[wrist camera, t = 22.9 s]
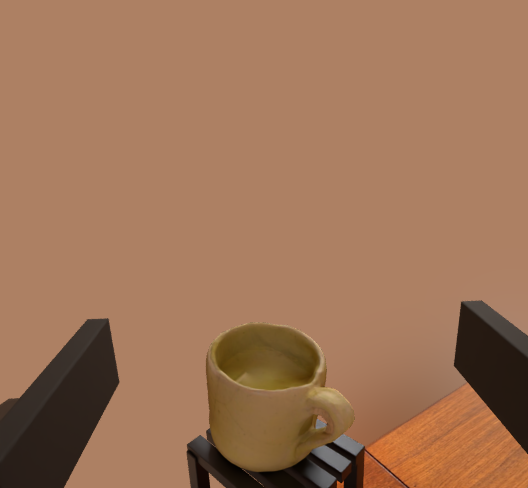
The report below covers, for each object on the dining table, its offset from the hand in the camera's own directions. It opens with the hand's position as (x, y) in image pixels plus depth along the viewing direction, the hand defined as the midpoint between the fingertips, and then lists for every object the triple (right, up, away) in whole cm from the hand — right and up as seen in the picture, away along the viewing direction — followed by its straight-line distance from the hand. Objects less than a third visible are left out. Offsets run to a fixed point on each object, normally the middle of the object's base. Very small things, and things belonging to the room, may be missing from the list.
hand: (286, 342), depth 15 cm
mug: (0, -13, +17) cm, 21 cm away
